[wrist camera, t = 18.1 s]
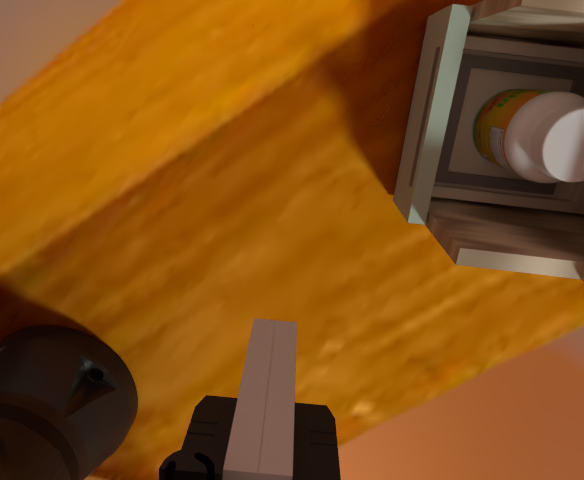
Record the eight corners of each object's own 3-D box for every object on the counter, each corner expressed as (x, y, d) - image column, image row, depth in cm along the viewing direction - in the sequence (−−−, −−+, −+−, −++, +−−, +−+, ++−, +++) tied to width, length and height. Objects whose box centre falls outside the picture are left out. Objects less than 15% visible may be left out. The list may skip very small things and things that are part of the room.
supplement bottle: (540, 78, 32) (631, 79, 23) (549, 152, 34) (637, 179, 25) (464, 101, 33) (522, 110, 24) (476, 172, 35) (535, 206, 26)
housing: (408, 203, 38) (461, 271, 25) (446, 16, 33) (537, -24, 20) (577, 223, 38) (721, 302, 25) (639, 38, 33) (859, 14, 20)
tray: (392, 200, 37) (407, 222, 32) (427, 16, 33) (451, 3, 27) (562, 220, 37) (607, 245, 32) (621, 39, 33) (686, 31, 27)
